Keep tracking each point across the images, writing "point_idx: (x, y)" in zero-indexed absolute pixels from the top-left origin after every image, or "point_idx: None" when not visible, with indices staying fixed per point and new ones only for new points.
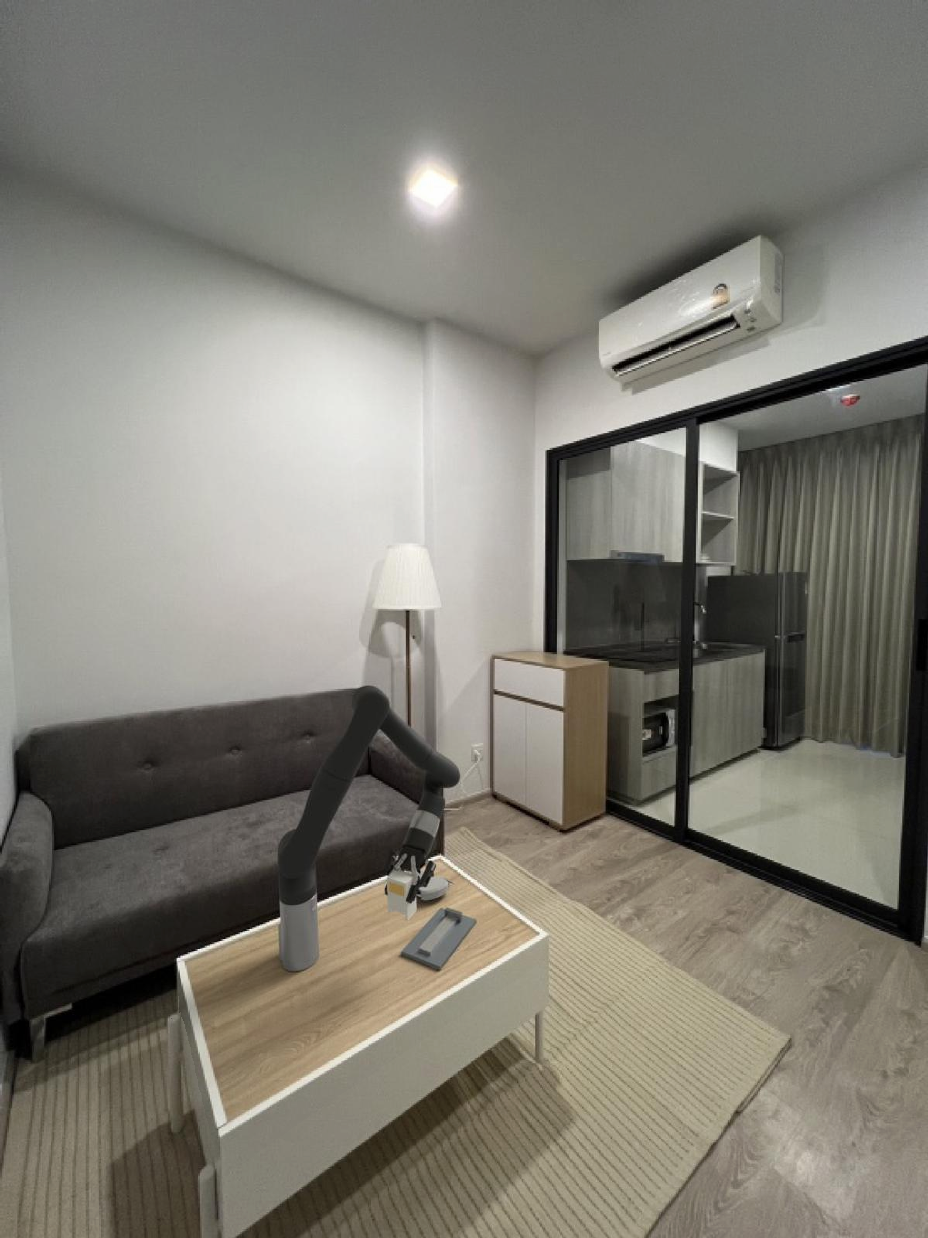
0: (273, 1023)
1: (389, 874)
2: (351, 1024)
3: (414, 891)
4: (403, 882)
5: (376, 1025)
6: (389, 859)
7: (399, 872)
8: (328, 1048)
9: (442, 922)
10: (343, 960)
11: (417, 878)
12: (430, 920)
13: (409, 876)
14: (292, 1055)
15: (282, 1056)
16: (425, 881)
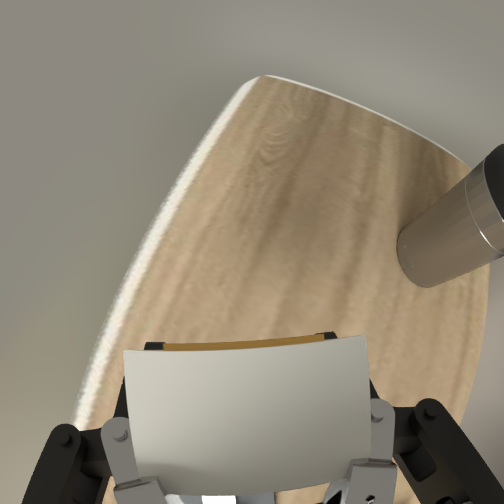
0: (337, 148)
1: (390, 412)
2: (229, 195)
3: (119, 393)
4: (155, 354)
5: (187, 214)
6: (472, 472)
7: (313, 464)
8: (231, 153)
9: (231, 498)
10: (364, 297)
11: (114, 470)
12: (270, 493)
13: (172, 460)
14: (268, 128)
15: (279, 124)
16: (90, 478)
